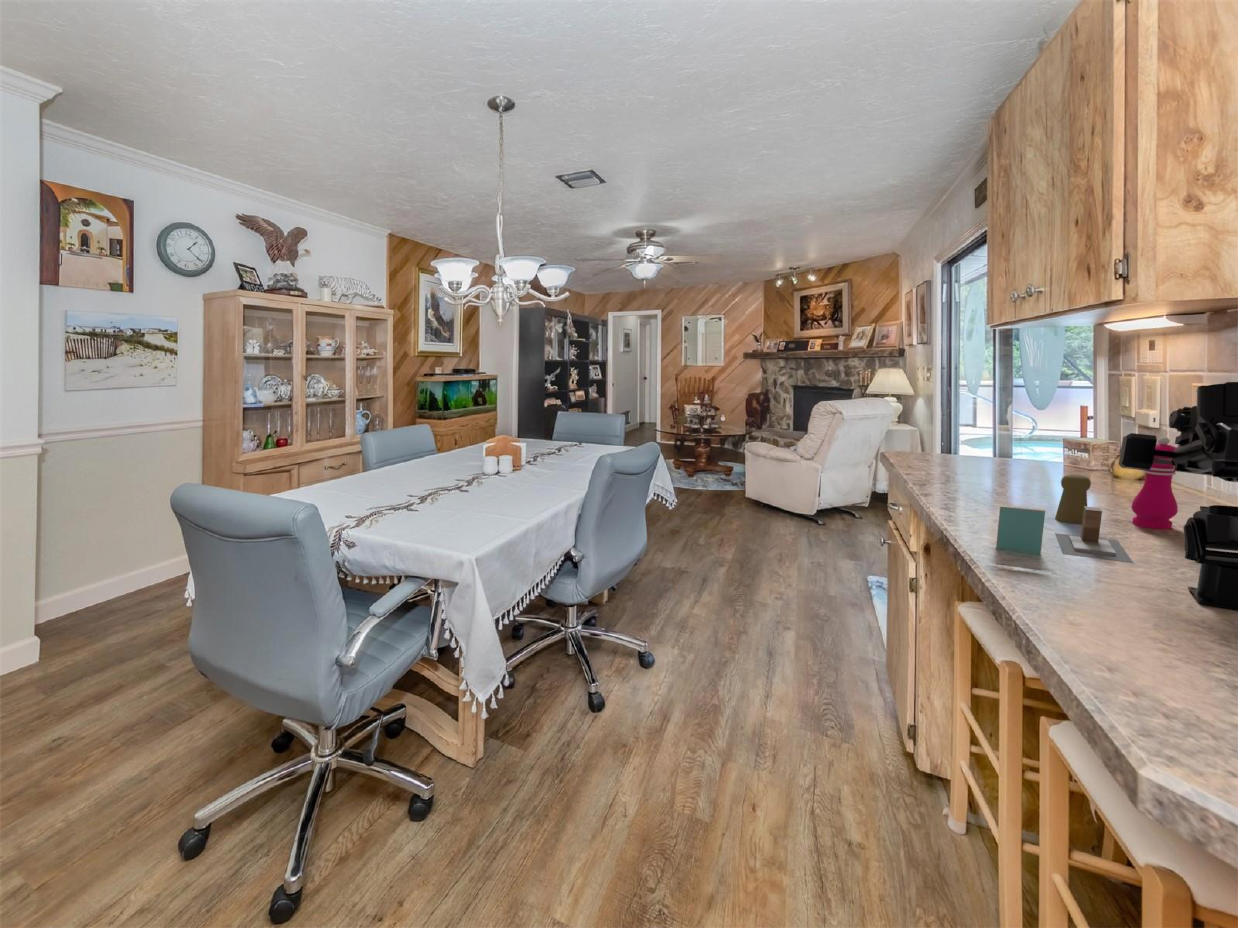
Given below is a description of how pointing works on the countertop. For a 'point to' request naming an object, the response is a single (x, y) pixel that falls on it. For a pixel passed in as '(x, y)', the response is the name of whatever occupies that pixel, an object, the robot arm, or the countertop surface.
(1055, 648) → the countertop surface
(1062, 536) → the mat
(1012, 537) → the tile
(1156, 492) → the pepper mill
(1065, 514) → the cork
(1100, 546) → the brown post on base
